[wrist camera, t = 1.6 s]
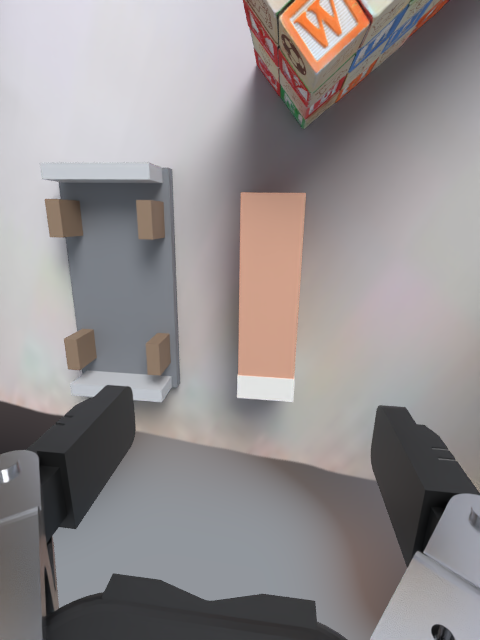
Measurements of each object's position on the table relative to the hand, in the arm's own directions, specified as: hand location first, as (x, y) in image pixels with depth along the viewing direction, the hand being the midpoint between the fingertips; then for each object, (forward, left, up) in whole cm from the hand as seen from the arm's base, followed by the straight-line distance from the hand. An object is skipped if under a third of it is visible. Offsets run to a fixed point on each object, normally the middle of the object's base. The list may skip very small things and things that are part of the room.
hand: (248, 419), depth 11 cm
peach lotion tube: (0, 0, -22) cm, 22 cm away
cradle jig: (+14, 0, -22) cm, 26 cm away
